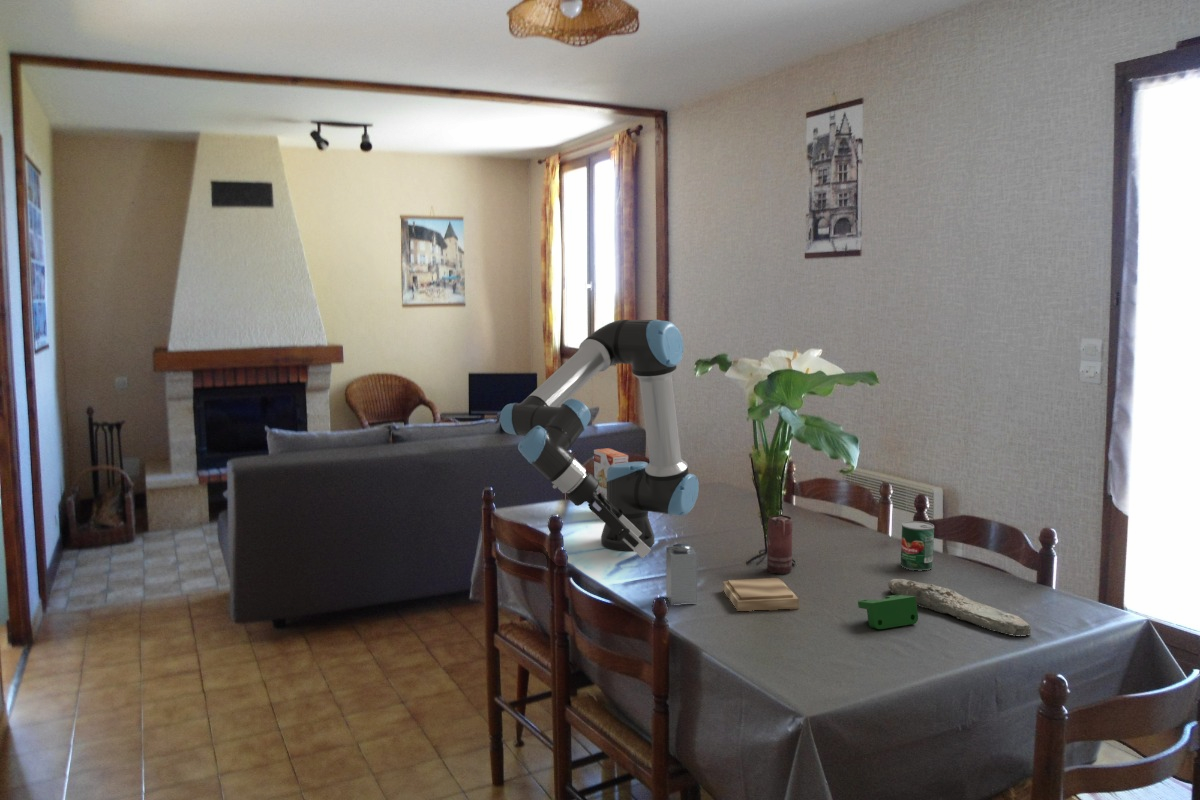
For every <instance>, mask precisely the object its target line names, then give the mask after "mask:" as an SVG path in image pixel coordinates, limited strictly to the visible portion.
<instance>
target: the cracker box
mask: <svg viewBox="0 0 1200 800" xmlns="http://www.w3.org/2000/svg"><path fill="white" fill-rule="evenodd" d="M627 462H629V455H628V454H625V453H623V452H620V451H618V450H615V449H612V448H609V447H607V448H606V447H605V448H598V449H597V448H596V449H593V465H594V469H593V471H594V475H593V476H594V477H595V478H596V479H597V480H598V481H599V485H598V488H597V489H596V491H597V492H598V493H601V494H602V495H603V496H604V497H605V498H606V499H607V482H606V480H607V470H608V468H609V467H610V466H612V465H616V464H620V463H627Z"/></svg>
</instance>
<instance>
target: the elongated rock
mask: <svg viewBox="0 0 1200 800" xmlns="http://www.w3.org/2000/svg"><path fill="white" fill-rule="evenodd" d="M887 588H888V589H889V590H890V593H892V595H906V596H915V597H916V604H917V605H920V606H923V607H926V608H925V609H928V608H929V610H931V611H933V610H934V611H933V612H938V613H939V614H949V615H951V616H953V617H955V618H956V619H957V620H959V619H960V620H959V621H965V622H968V623H971V624H974V625H976V626H978V625H979V626H978V627H980V626H983V627H985V628H988V629H991V630H995V631H998V632H997V633H999V632H1002V633H1007V634H1013V635H1020V636H1021V635H1028V634H1030V635H1031V633H1032V632H1031V630H1032V629H1031V624H1029V623H1028V621H1025V620H1024V619H1023V618H1021V617H1020V616H1018V615H1015V614H1012V613H1010V612H1009V613H1008V612H1006V611H1004V610H1002V609H998V608H996V607H994V606H990V605H988V604H984V603H982V602H978V601H975V600H972V599H970V598H969V597H967V596H964V595H961V594H960V593H958V592H957V591H955V590H954V589H949V587H943V586H940V585H935V584H933V583H929V584H928V583H924V582H920V581H914V580H909V579H905V578H894V579H891V580H889V581H888V583H887ZM923 607H922V608H923ZM983 627H982V628H983ZM985 628H984V629H985ZM988 629H987V630H988Z"/></svg>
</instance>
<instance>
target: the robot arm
mask: <svg viewBox="0 0 1200 800" xmlns="http://www.w3.org/2000/svg"><path fill="white" fill-rule="evenodd" d="M684 350H685V349H684V340H683V337H682V334H681V331H680V329H679V328H678V327H677V326H676V325H675V324H674V323H673V322H671V321H669V320H660V319H619V320H615V321H612V322H609V323H607V324H605V325H603V326H602V327H600V328H598V329H596V330H595V331H594V332H592V333H591V334H590V335H588V336H587V337H586V338H585V339H584V340H583V341H582V342H581V343H580V344H579V346H578V350H577V351H576V352H575V353H574V354H573V355H572V356H571V357H570V358H568V359H567V360H566V362H564V363H563V364H562V365H561V366H560V367H559V368H558V369H556V370H555V371H554V373H552V374H551V375H550V376H549V377H548V378H547V379H546V380H545V381H543V383H541V384H540V385H539V386H538V387H536V389H535V390H533V392H531V393H530V394H529V395H528V396H527V397H526V398H525V399H523V401H521V402H519V403H518V402H513V403H508V404H506V405H505V406H504V407H503V408H502V410H501V412H500V417H499V421H500V425H501V426H500V427H501V428H502V430H503V431H504V432H505V433H506V434H509V435H515V436H518V437H521V436H522V437H523V438H521V440H520V441H519V443H518V445H517V449H518V451H519V452H520V454H521V455H522V457H524V458H525V460H527V462H528V463H529V464H531V465H532V466H533V467H534V468H535V469H536V470H537V471H539V472H540V473H541V474H542V475H543V476H544V477H545V478H546V479H547V480H548V481H550V483H552V488H553V489H558V490H559V491H560V492H562V494H565V497H566V498H567V499H568V500H569V501H570V502H571V503H572V504H574V506H576V507H577V506H578V507H579V506H582V505H584V503H585V502H587V503H588V504H587V506H588V508H589V510H591V512H593V513H595V515H596V516H597V517H598V518H599V519H601V520H602V521H603V523H604V526H603V528H602V532H601V536H600V542H601V543H600V544H601V545H602V547H604V548H607V549H610V550H614V551H615V550H616V551H627V552H628V551H634V552H635V553H636V554H637V555H638V556H639V557H640V558H641V559H642V560H643V559H644V558H645V557H646V556H647V555H648V554H649V553H650V552H651V551H652V549H651V547H653V546H654V545H655V534H654V531H653V528H652V524H651V522H650V519H649V512H651V513H656V514H662V515H663V514H664V515H669V516H675V517H676V516H679V517H684V516H686V515H687V514H689V513H690V512H691V511H692V509H693V508H694V507H695V504H696V502H697V499H698V497H699V487H700V485H699V480H698V477H697V476H696V475H695V474H693V473H690V472H689V465H688V463H687V462H686V461H685V460H684V459H683V458H682V454H681V453H682V452H681V446H680V445H681V444H680V443H681V442H680V437H679V436H680V435H679V427H678V419H677V411H676V401H675V392H674V391H675V390H674V385H673V374H674V373H675V372H676V371H677V370H678V369H677V367H678V366H679V363H681V361H682V359H683V358H684V357H683V353H684ZM619 364H625V365H631V371H632V375H633V376H634V377H635V378H637V379H638V380H639V387H640V388H639V389H640V397H641V403H642V411H643V418H644V419H643V420H644V426H645V427H644V428H645V437H646V444H647V450H648V460H649V463H648V462H646V461H628V462H627V463H620V464H616V465H612V466H610V467H609V468H608V470H607V480H606V482H607V499H606V498H605V497H604V496H603V495H602V494H601V493H598V492H597V491H596V489H597V488H598V485H599V481H598V480H597V479H596V478H595V477H594V475H593V474H591V472H590V471H587V469H586V467H585V466H584V465H583V464H581V463H580V462H579V461H578V459H576V458H575V457H574V456H573V455H572V454H571V453H570V452H569V450H570V449H571V447H572V446H573V445H574V444H575V443H576V441H577V439H579V437H580V436H581V435H582V433H584V432H585V430H586V427H587V426H588V424H589V423H590V421H591V417H592V415H591V411H590V409H589V407H588V406H587V405H586V404H585V403H584V402H583V401H581V400H579V399H576V398H573V397H574V396H575V395H576V394H577V393H578V392H579V391H580V390H582V388H583V387H584V386H585V385H586V384H587V383H588V382H590V381H591V380H592V378H593V377H594V376H596V375H597V374H598V372H605V371H607V369H608V368H610V367H612V366H613V365H619ZM653 544H654V545H653ZM652 545H653V546H652ZM649 546H651V547H649Z"/></svg>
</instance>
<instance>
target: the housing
mask: <svg viewBox="0 0 1200 800" xmlns="http://www.w3.org/2000/svg"><path fill="white" fill-rule="evenodd" d="M665 549H666V550H665V551H666V554H665V555H666V560H665V561H666V563H665V564H666V568H665V569H666V571H665V572H666V586H665V587H666V595H667V597H666V598H668V599H667V600H669V601H668V603H669V602H670V603H669V604H670V607H673V606H672V605H674V604H681V603H697V604H698V553H697V552H696V550H695V549H694V547H693V546H691V545H690V544H687V543H676V544H673V545H672V546H666V548H665Z"/></svg>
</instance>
